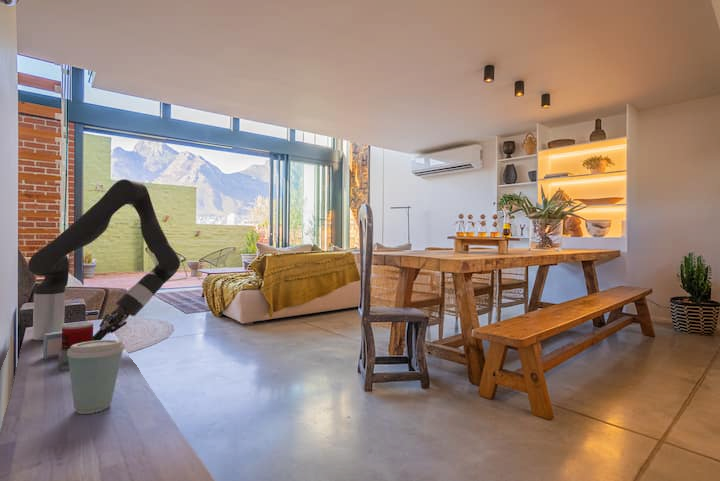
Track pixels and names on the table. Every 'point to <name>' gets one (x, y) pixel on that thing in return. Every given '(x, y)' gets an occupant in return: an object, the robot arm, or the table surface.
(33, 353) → the table surface
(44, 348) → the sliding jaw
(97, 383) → the disposable coffee cup
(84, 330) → the canned food
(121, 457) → the table surface
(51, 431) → the table surface
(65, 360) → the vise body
